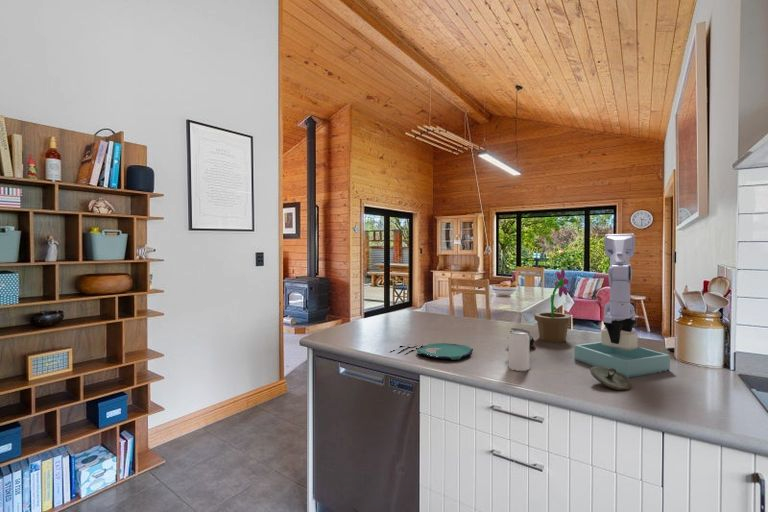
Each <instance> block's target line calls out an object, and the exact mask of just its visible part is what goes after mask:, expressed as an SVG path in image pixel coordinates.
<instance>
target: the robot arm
mask: <svg viewBox="0 0 768 512" xmlns="http://www.w3.org/2000/svg"><path fill="white" fill-rule="evenodd" d="M635 237H636V235H635V234H634V233H633V232H632V233H609V234H608V233H606V234H605V235H604V237H603V239H604V241H603V242H604V245H603V246H604V254H605V257H607V258H608V259H609V266H608V274H607V275H608V276H607V277H608V283H609V285H608V286H609V301H608V302H607V303H605V305H604V309H603V310H604V311H603V325H604V327H605V329H607V330H608V333H609V336H610V340H611V343H615V344H619V340H620V332H621V330H623V331H628V332H633V333H638V332H637V330H636V329H635V326H636V323H637V320H636V311H635V307H634V305H633V304H632V303H631V283H632V279H633V278H632V277H633V270H632V268H633V267H632V264H631V263H630V261H631V259H630V258H633V257H634V254H635V247H636V244H635V243H636V238H635ZM629 281H630V282H629Z"/></svg>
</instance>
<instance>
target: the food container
mask: <svg viewBox="0 0 768 512" xmlns="http://www.w3.org/2000/svg"><path fill="white" fill-rule="evenodd" d="M510 329H511V330H510V331H512V330H521V331H526V332H528V336H529V348H531V346H530V340H531V339H532V337H533V335H532V333H531V331H530V330H527V329H524V328H519V327H511V328H510Z"/></svg>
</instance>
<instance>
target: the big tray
mask: <svg viewBox="0 0 768 512" xmlns="http://www.w3.org/2000/svg"><path fill="white" fill-rule="evenodd" d="M574 360H575V361H578V362H581V363H584V364H587V365H589V366H592V367H593V366H601V367H606V368H609V369H612V368H614V369H616V372H618V373H620V374H621V375H623V376H624V377H625V378H626V379H629V378H635V377H639V376H640V377H642V376H647V375H654V374H658V373H657V372H659V373H663V372H662V371H665V372H668V371H667V370H670V371H671V367H670V366H671V354H669V353H668V354H667V353H665V352H664V353H663V352H661V351H660V352H659V351H656V350H652V349H650V348H649V349H648V348H646V347H645V348H644V347H643V346H642V347H641V346H638V349H634V350H630V351H627V350H623V349H619V348H614V347H610V346H605V345H601V341H596V342H588V343H581V344H574ZM653 373H654V374H653Z"/></svg>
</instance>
